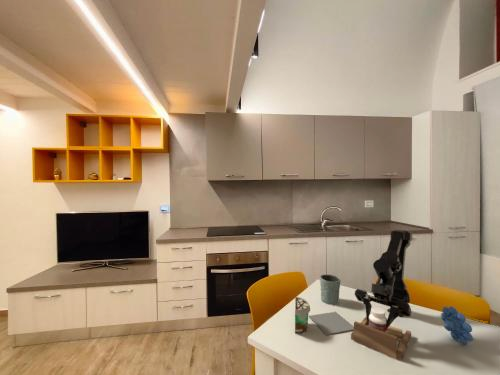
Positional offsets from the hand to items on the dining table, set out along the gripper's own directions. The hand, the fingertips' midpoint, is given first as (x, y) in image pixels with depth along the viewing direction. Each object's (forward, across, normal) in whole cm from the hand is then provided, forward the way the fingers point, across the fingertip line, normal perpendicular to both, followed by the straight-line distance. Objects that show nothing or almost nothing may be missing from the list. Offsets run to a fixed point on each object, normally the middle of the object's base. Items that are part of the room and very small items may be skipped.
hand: (376, 323), depth 88 cm
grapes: (-11, +20, +23) cm, 32 cm away
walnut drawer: (+2, 0, +9) cm, 9 cm away
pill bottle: (+4, 0, +6) cm, 7 cm away
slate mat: (+4, -18, +7) cm, 20 cm away
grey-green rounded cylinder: (-9, -28, +21) cm, 36 cm away
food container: (+12, -26, -1) cm, 29 cm away
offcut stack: (-1, 0, +13) cm, 13 cm away
